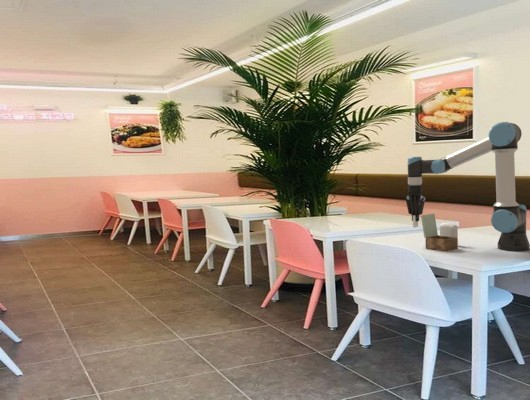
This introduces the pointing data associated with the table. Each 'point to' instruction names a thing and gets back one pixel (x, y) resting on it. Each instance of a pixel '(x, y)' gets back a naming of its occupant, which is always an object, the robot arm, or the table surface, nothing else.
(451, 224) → the photo printer
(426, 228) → the lid
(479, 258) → the table surface
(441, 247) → the box carcass
